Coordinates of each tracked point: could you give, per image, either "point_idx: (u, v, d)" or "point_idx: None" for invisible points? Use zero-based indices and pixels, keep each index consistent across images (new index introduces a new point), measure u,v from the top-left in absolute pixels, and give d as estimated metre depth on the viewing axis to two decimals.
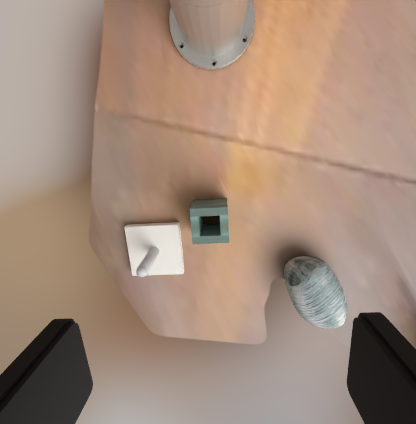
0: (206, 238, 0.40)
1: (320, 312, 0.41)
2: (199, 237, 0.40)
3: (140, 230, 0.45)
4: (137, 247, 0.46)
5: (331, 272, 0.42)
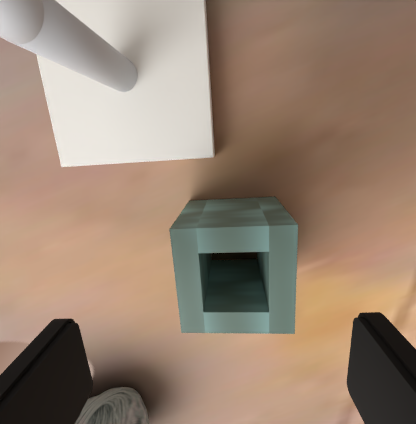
0: (191, 272, 0.12)
1: None
2: (194, 252, 0.12)
3: (190, 24, 0.13)
4: (128, 9, 0.13)
5: None
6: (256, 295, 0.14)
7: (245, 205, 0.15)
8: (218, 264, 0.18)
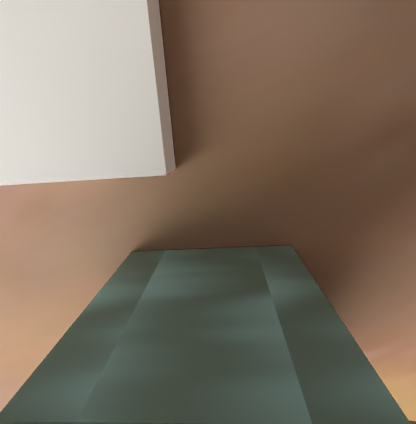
0: None
1: None
2: None
3: None
4: None
5: None
6: None
7: (235, 276, 0.07)
8: None
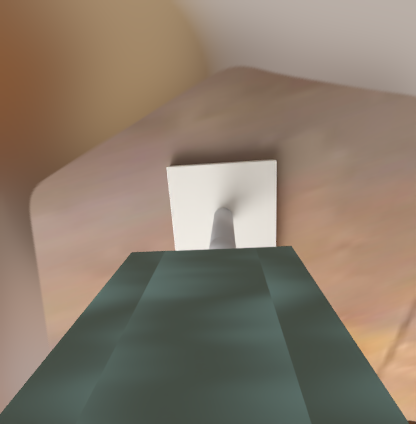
0: None
1: None
2: None
3: (267, 193, 0.23)
4: (230, 183, 0.23)
5: None
6: None
7: (235, 277, 0.07)
8: None
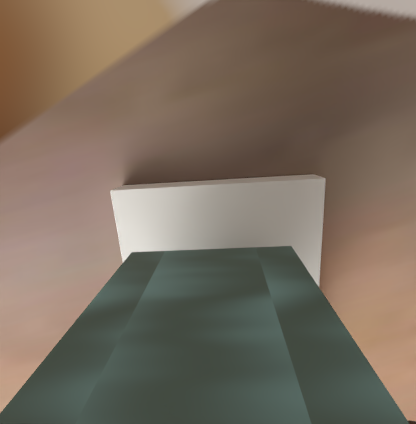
0: None
1: None
2: None
3: (304, 239, 0.12)
4: (234, 222, 0.12)
5: None
6: None
7: (235, 277, 0.07)
8: None
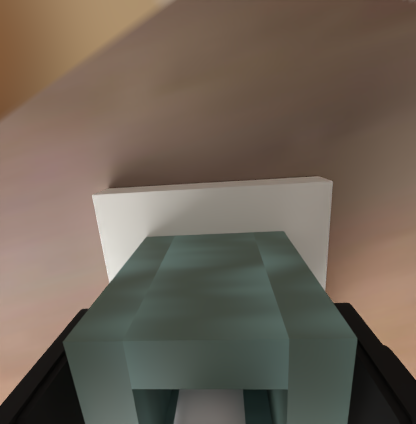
0: (120, 422, 0.06)
1: None
2: (122, 387, 0.05)
3: (309, 249, 0.11)
4: (230, 229, 0.11)
5: None
6: None
7: (235, 253, 0.09)
8: None
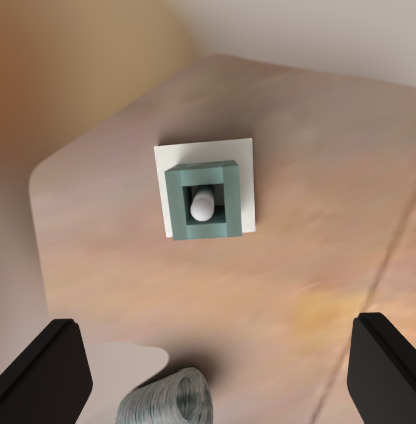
0: (178, 198, 0.21)
1: None
2: (179, 185, 0.20)
3: (245, 167, 0.26)
4: (212, 160, 0.26)
5: None
6: (220, 218, 0.22)
7: (212, 163, 0.24)
8: None
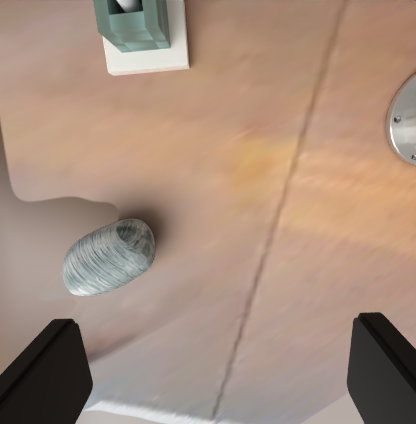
0: None
1: (86, 268, 0.31)
2: None
3: None
4: None
5: (140, 273, 0.34)
6: None
7: None
8: None
